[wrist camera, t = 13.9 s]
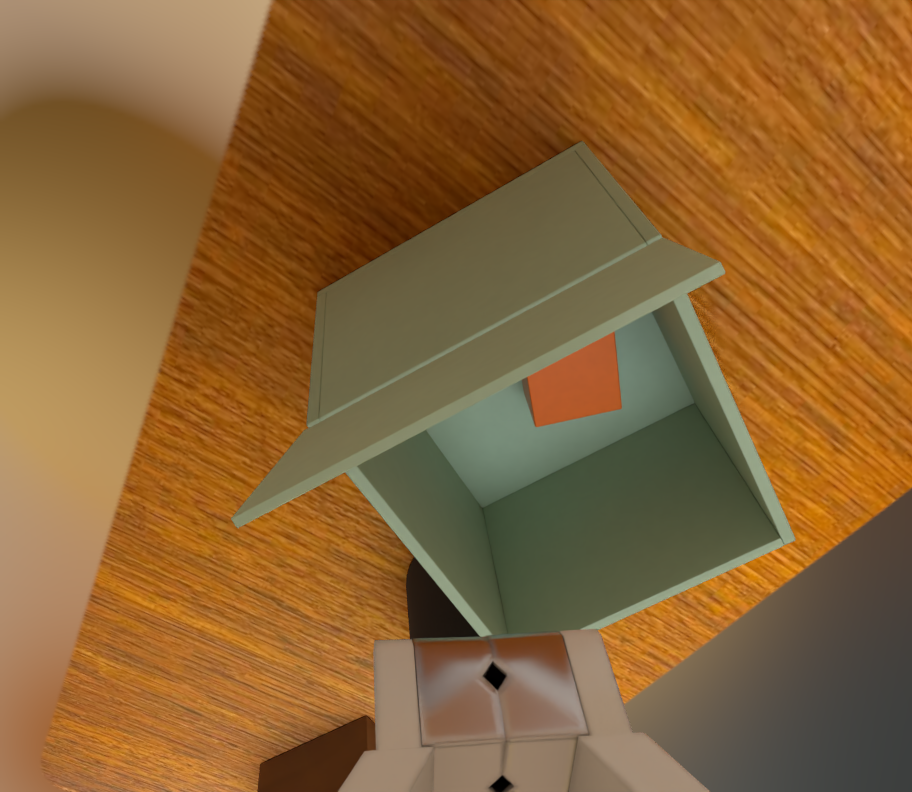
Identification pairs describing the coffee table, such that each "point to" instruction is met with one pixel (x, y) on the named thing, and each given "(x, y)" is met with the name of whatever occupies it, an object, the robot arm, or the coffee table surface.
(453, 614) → the mug
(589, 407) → the block
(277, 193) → the coffee table surface
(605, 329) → the flap
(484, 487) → the green box
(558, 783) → the robot arm
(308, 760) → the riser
